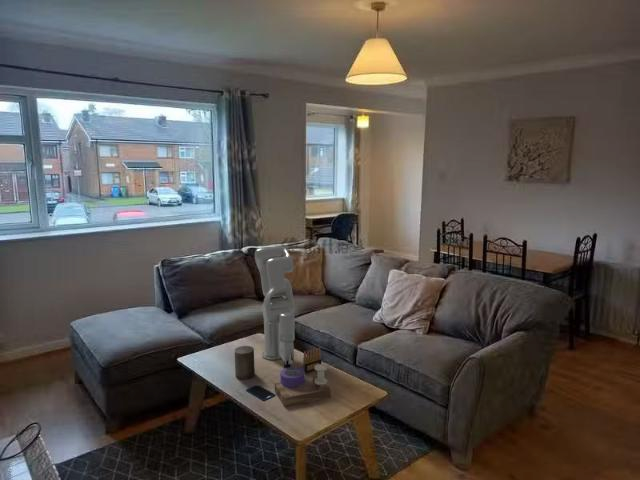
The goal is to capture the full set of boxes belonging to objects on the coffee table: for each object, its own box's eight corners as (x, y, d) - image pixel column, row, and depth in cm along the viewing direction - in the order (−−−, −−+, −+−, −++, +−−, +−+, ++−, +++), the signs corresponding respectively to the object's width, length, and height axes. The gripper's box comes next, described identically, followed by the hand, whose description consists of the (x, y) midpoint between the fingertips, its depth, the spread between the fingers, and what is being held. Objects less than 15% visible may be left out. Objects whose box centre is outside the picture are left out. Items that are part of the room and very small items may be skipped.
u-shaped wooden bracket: (274, 391, 216) (274, 383, 215) (318, 383, 224) (318, 375, 223) (284, 406, 203) (284, 398, 202) (330, 397, 211) (330, 389, 210)
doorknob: (312, 380, 218) (312, 365, 217) (324, 378, 221) (324, 363, 219) (317, 386, 213) (317, 370, 212) (329, 383, 215) (329, 368, 214)
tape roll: (304, 376, 231) (304, 366, 231) (304, 387, 220) (304, 377, 219) (281, 376, 231) (281, 366, 230) (279, 387, 220) (279, 377, 219)
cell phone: (263, 402, 207) (263, 400, 207) (245, 391, 217) (244, 389, 217) (276, 396, 212) (276, 394, 212) (257, 385, 222) (257, 384, 222)
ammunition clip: (304, 374, 233) (304, 351, 231) (302, 372, 235) (302, 350, 233) (321, 368, 239) (321, 346, 237) (319, 367, 241) (319, 345, 239)
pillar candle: (258, 375, 232) (257, 346, 229) (242, 381, 225) (241, 352, 222) (247, 369, 239) (246, 341, 236) (231, 375, 232) (230, 346, 229)
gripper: (275, 332, 235) (275, 366, 238) (284, 343, 221) (284, 379, 225) (289, 330, 238) (289, 364, 241) (299, 341, 224) (299, 376, 227)
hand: (287, 371), depth 233 cm, fingers closed
